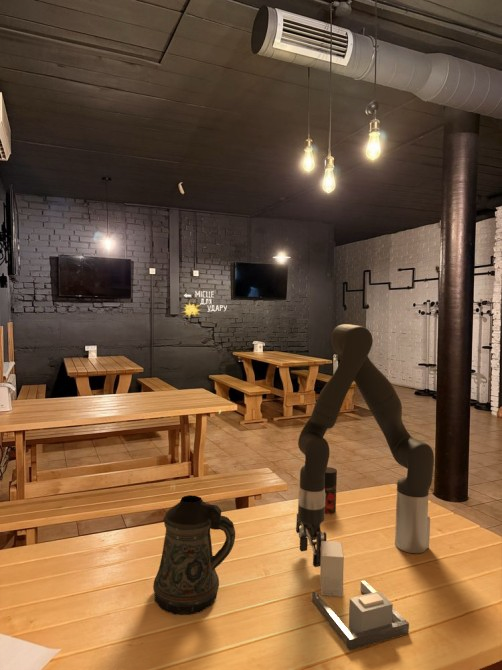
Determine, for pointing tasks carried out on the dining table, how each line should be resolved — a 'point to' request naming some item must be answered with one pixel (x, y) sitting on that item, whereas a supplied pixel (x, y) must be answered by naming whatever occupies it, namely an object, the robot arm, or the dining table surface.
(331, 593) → the small box
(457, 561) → the dining table surface
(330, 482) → the deodorant
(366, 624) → the block
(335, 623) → the rail
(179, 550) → the beer stein
